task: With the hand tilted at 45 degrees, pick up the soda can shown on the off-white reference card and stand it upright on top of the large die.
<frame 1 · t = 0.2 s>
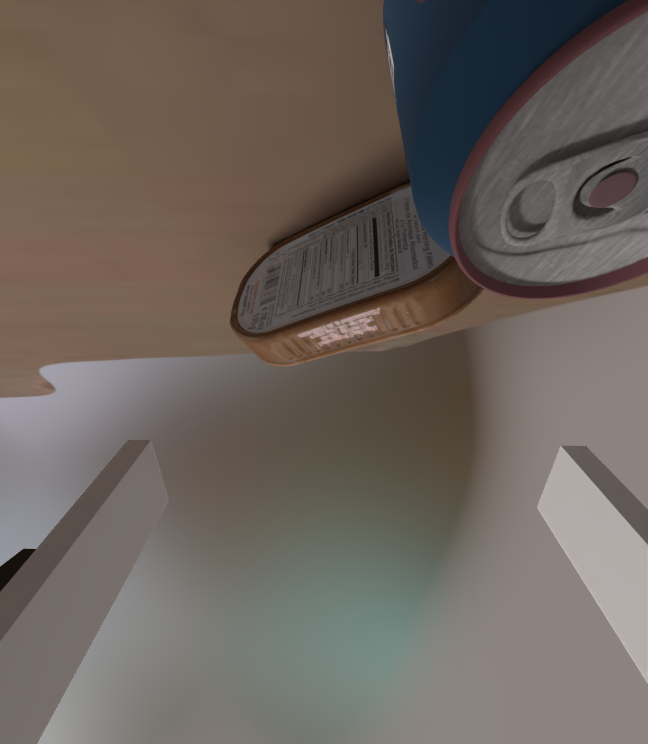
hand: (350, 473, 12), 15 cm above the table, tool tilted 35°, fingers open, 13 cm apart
tin: (343, 223, 21), on the table
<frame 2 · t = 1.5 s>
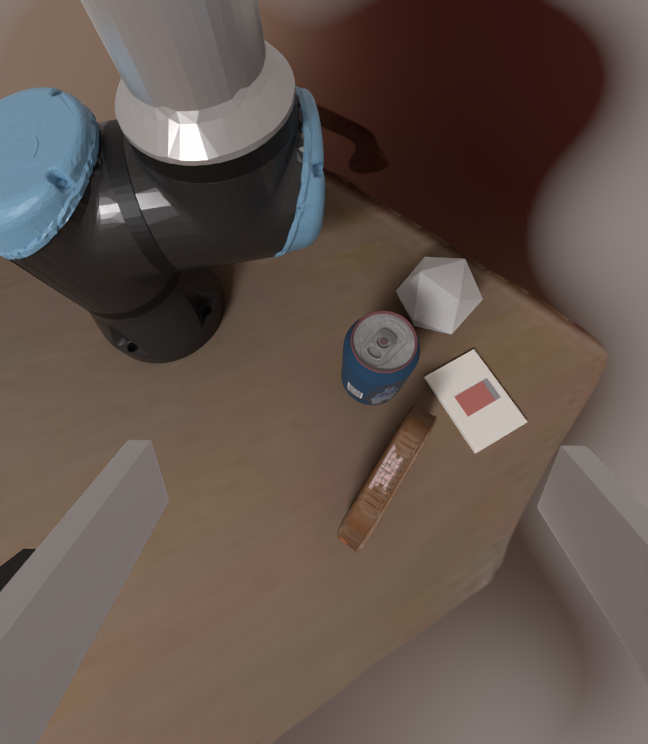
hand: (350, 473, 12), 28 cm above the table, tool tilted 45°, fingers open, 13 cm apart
soda can: (370, 378, 41), on the table
tin: (380, 474, 38), on the table
die: (428, 311, 44), on the table
reference card: (473, 399, 40), on the table
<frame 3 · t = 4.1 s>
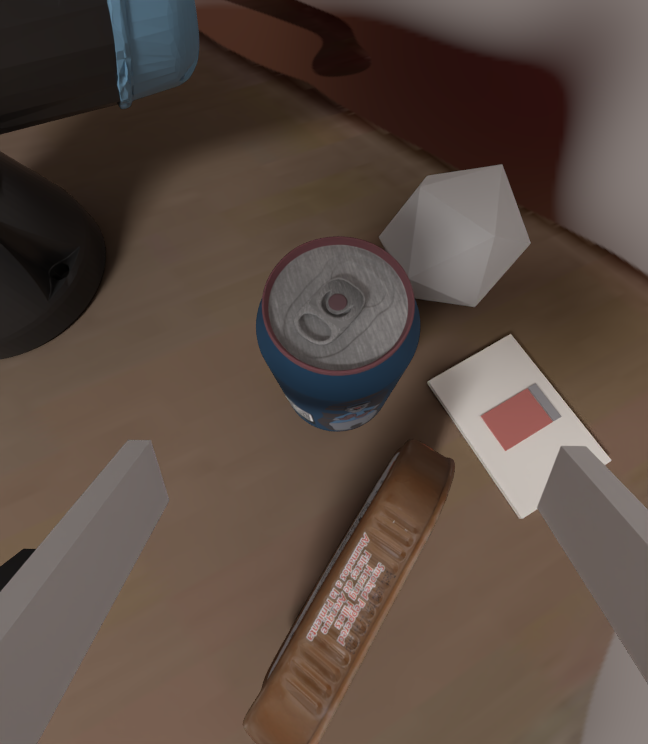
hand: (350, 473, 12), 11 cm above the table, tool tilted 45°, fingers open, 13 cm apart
soda can: (336, 385, 25), on the table
tin: (351, 557, 21), on the table
die: (433, 274, 27), on the table
reference card: (513, 420, 23), on the table
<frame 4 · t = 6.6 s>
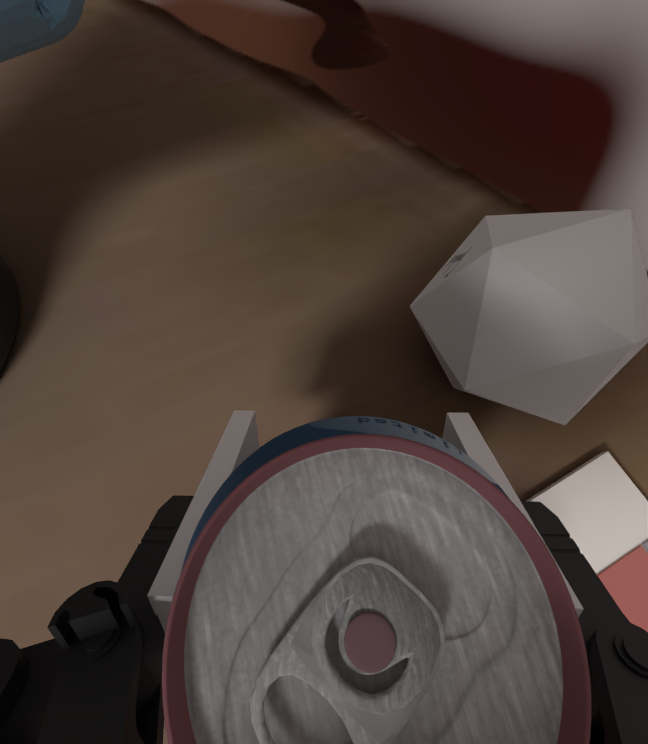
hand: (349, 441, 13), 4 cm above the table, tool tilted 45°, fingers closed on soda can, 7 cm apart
soda can: (346, 528, 16), on the table, touching gripper
die: (485, 350, 19), on the table
reference card: (620, 596, 15), on the table
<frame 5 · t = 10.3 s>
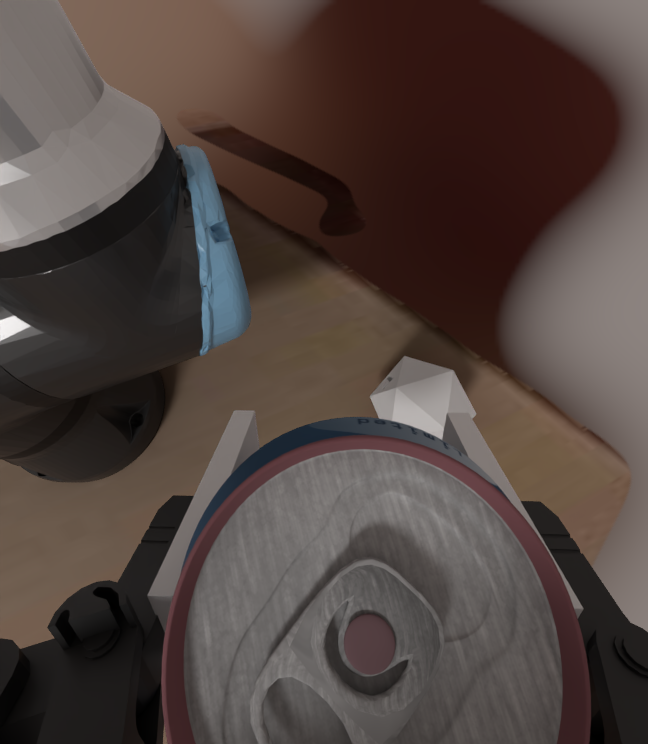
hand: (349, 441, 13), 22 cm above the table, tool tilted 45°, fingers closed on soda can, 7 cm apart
soda can: (345, 528, 16), point 18 cm above the table, touching gripper
die: (411, 412, 36), on the table
when the fingers open (15 cm above the table, at t = 13.9 s): soda can drops 3 cm, resting on die.
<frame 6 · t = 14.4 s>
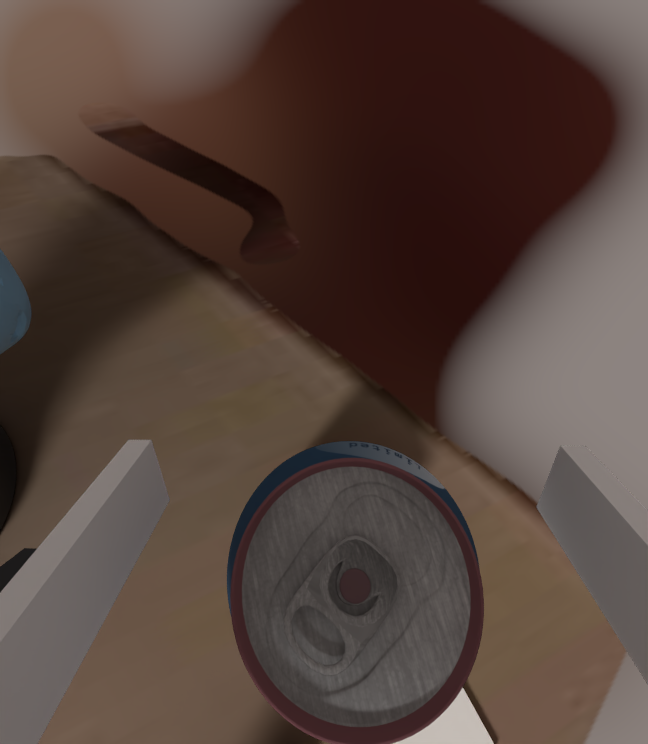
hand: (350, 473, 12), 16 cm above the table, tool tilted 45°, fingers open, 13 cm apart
soda can: (343, 522, 19), point 7 cm above the table, touching die
reference card: (406, 694, 23), on the table
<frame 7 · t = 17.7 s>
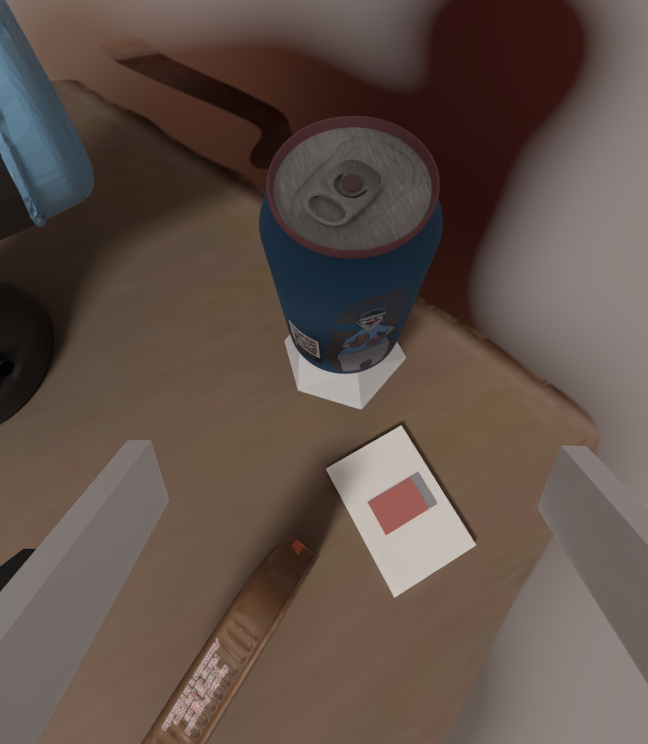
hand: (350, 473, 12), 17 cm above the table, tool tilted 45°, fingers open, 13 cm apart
soda can: (343, 330, 23), point 7 cm above the table, touching die
tin: (248, 629, 25), on the table
die: (341, 365, 30), on the table, touching soda can
reference card: (397, 505, 27), on the table
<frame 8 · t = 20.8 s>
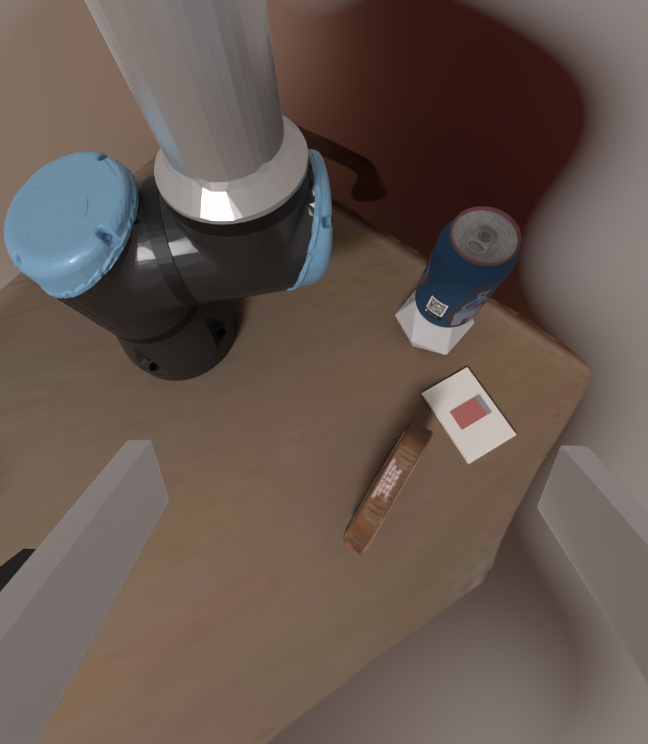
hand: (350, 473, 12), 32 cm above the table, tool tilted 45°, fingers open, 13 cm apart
soda can: (442, 305, 40), point 7 cm above the table, touching die
tin: (382, 483, 42), on the table
die: (425, 331, 47), on the table, touching soda can
reference card: (467, 413, 44), on the table
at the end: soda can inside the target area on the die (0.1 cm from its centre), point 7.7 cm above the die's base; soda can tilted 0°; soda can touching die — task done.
